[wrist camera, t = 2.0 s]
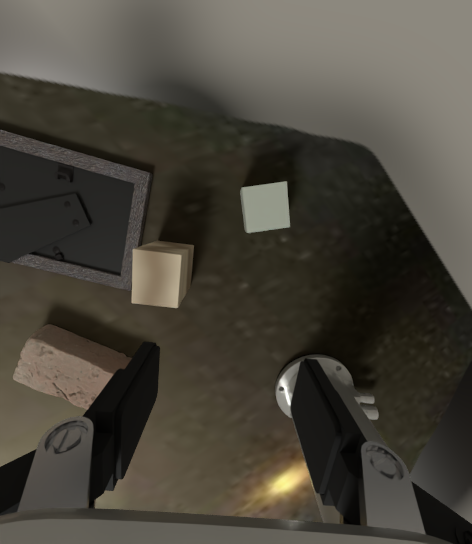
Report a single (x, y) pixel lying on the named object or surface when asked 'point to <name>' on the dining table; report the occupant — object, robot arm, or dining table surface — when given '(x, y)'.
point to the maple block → (161, 273)
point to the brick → (67, 365)
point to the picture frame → (70, 211)
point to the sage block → (265, 207)
